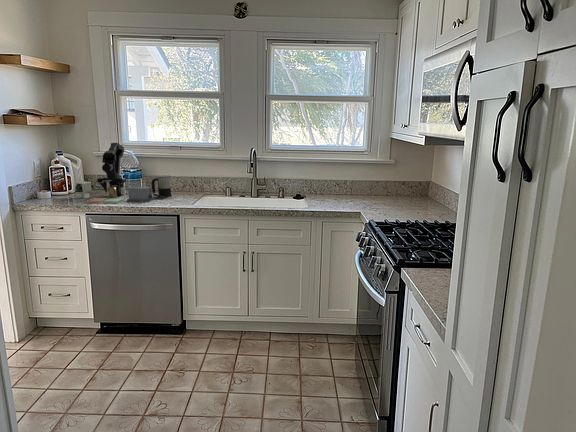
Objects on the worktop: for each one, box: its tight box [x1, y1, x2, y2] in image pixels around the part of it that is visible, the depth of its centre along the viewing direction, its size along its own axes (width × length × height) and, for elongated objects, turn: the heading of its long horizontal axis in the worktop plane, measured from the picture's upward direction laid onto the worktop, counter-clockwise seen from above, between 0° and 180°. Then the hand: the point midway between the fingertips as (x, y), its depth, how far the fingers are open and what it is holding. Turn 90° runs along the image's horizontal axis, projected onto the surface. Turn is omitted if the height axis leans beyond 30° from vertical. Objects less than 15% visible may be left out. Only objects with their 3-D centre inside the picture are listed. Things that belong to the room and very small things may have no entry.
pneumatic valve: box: [75, 181, 94, 199], centre depth 304 cm, size 6×12×12 cm, turn 155°
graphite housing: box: [127, 186, 155, 202], centre depth 297 cm, size 8×16×9 cm, turn 84°
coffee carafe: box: [150, 175, 172, 199], centre depth 308 cm, size 14×16×15 cm
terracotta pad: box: [85, 197, 109, 204], centre depth 292 cm, size 10×10×2 cm
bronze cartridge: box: [107, 186, 118, 199], centre depth 302 cm, size 5×5×8 cm
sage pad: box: [102, 197, 125, 205], centre depth 290 cm, size 10×10×2 cm
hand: (112, 192), depth 302 cm, fingers open, 9 cm apart
